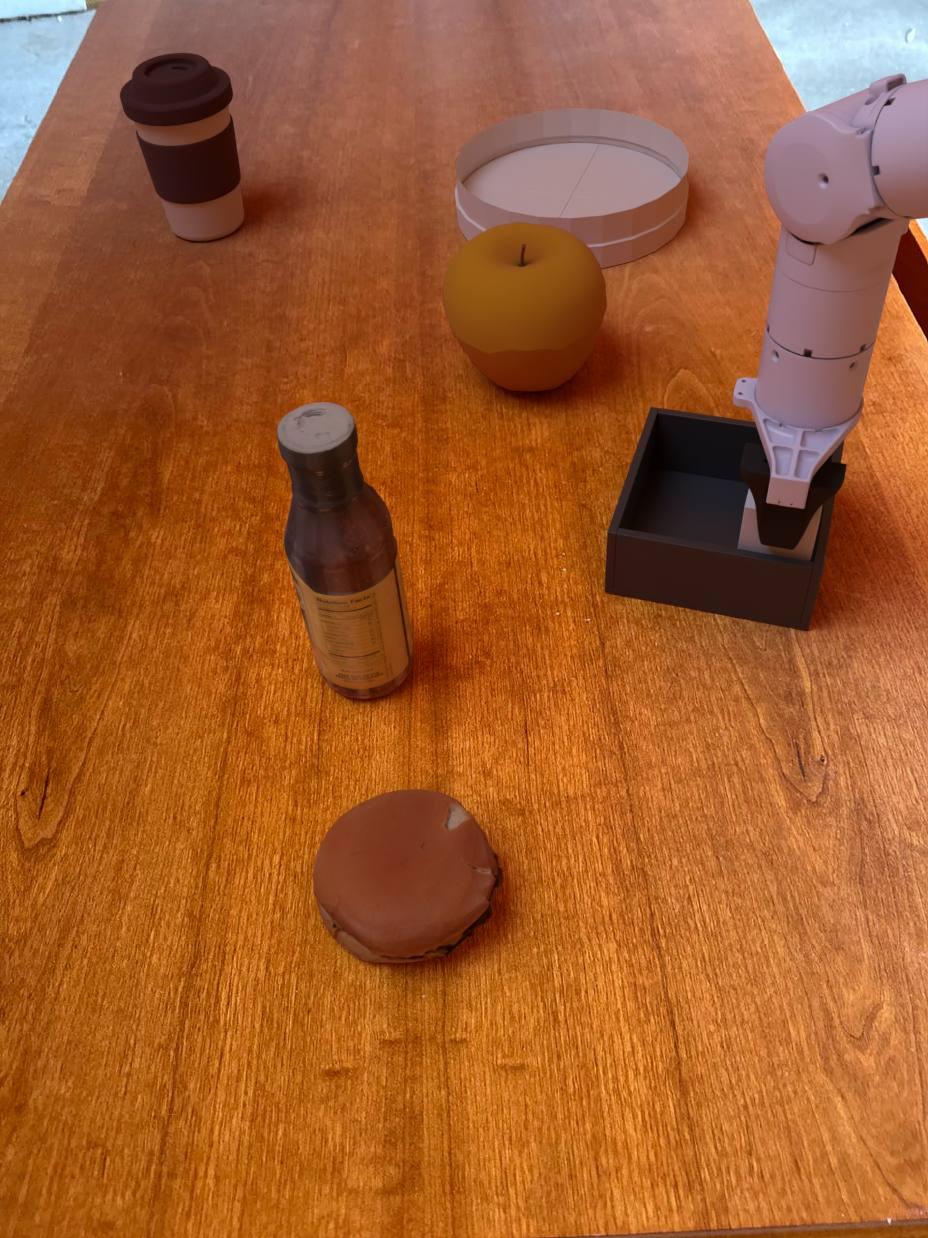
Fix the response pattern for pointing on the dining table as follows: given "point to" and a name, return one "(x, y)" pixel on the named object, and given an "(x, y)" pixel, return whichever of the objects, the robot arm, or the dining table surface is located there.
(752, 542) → the cube
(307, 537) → the sauce bottle
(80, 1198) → the dining table surface
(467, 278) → the apple
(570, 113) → the dish
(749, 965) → the dining table surface
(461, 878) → the chocolate glazed sandwich cookie
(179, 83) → the coffee cup
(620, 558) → the bin
